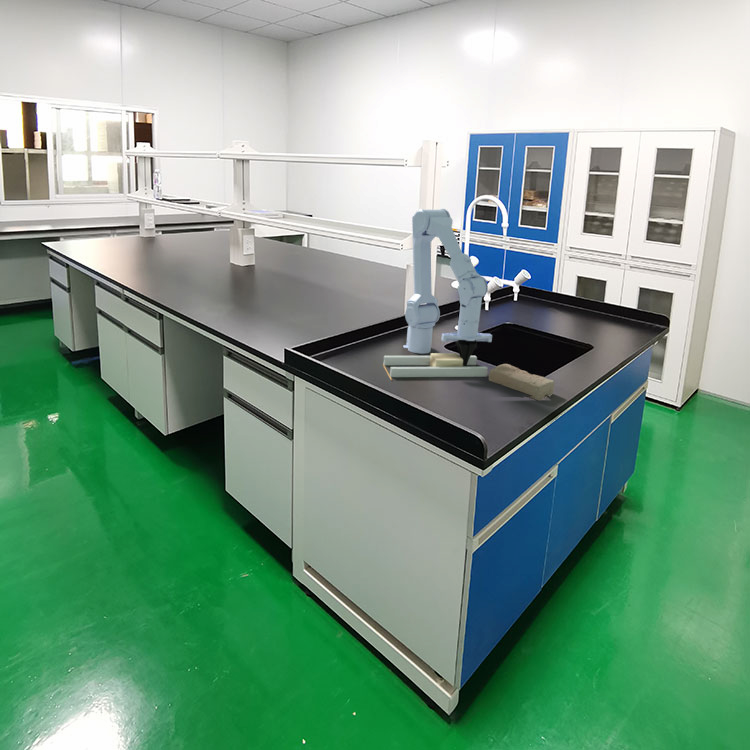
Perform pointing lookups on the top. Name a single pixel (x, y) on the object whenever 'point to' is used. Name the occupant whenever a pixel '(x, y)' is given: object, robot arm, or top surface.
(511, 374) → the brick
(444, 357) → the block
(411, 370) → the chute
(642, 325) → the top surface
